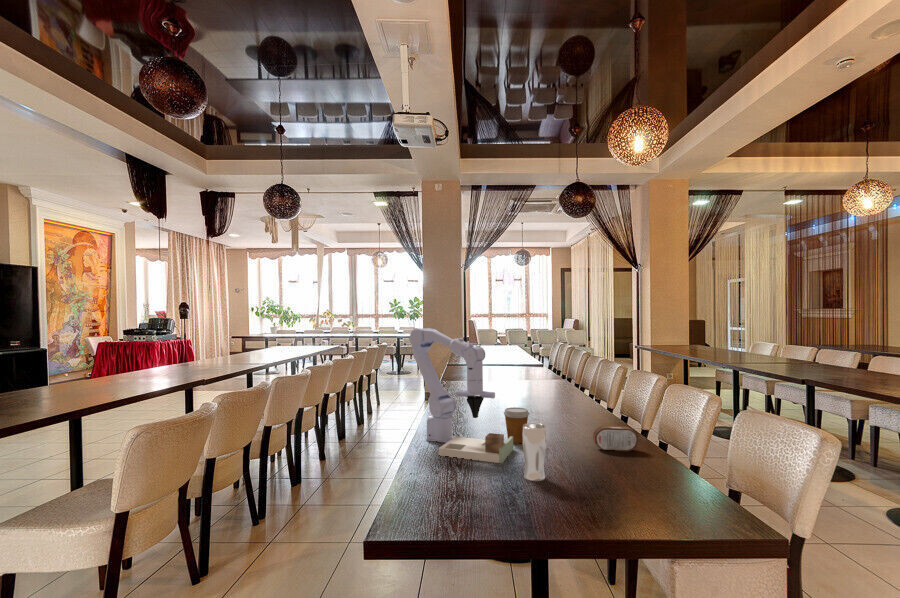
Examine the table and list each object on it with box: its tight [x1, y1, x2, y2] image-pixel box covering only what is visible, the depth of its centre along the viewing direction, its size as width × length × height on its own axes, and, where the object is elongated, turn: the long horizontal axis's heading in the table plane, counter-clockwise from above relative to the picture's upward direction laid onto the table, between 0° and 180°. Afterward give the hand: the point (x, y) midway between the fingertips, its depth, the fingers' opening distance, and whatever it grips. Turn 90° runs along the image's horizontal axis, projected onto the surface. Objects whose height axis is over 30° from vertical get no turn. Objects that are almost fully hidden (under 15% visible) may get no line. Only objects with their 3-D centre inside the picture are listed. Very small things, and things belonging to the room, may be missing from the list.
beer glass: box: [521, 422, 547, 482], centre depth 132 cm, size 7×7×15 cm
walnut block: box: [484, 432, 505, 454], centre depth 149 cm, size 5×5×5 cm
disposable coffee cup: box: [503, 407, 530, 445], centre depth 169 cm, size 10×10×12 cm
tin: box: [592, 425, 639, 452], centre depth 159 cm, size 15×3×8 cm, turn 84°
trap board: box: [438, 436, 514, 464], centre depth 156 cm, size 22×16×4 cm
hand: (475, 417), depth 163 cm, fingers closed
